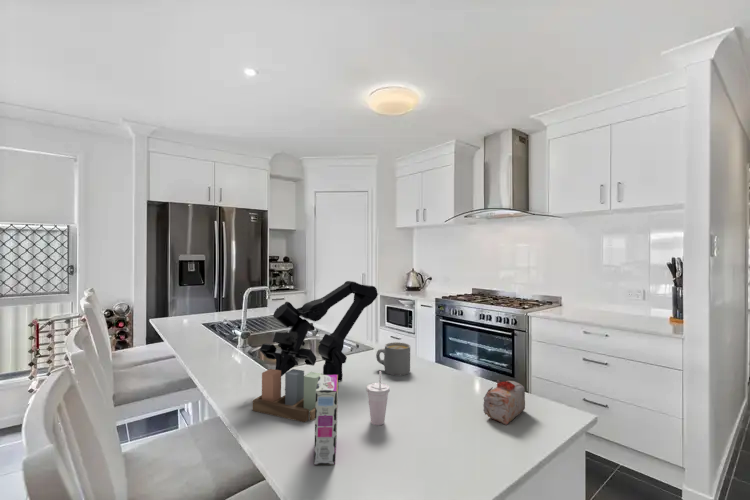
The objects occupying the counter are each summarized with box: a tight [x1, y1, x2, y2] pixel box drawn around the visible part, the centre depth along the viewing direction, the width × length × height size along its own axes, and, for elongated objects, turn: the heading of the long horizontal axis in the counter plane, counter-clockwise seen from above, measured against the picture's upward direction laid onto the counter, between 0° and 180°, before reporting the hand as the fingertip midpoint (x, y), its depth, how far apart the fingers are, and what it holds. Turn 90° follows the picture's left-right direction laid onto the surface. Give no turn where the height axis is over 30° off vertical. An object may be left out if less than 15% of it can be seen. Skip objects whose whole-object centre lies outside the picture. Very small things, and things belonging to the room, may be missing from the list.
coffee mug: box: [375, 341, 411, 377], centre depth 142 cm, size 13×10×10 cm
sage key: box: [304, 371, 323, 412], centre depth 107 cm, size 4×4×10 cm
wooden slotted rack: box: [252, 394, 315, 423], centre depth 107 cm, size 10×20×3 cm, turn 68°
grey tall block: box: [284, 368, 305, 406], centre depth 109 cm, size 4×4×10 cm
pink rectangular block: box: [261, 368, 282, 402], centre depth 109 cm, size 4×4×10 cm
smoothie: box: [366, 370, 390, 426], centre depth 99 cm, size 6×6×14 cm
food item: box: [482, 379, 526, 426], centre depth 105 cm, size 14×8×10 cm, turn 137°
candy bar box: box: [313, 375, 339, 466], centre depth 85 cm, size 11×5×16 cm, turn 5°
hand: (276, 378), depth 111 cm, fingers closed, pressing on pink rectangular block
